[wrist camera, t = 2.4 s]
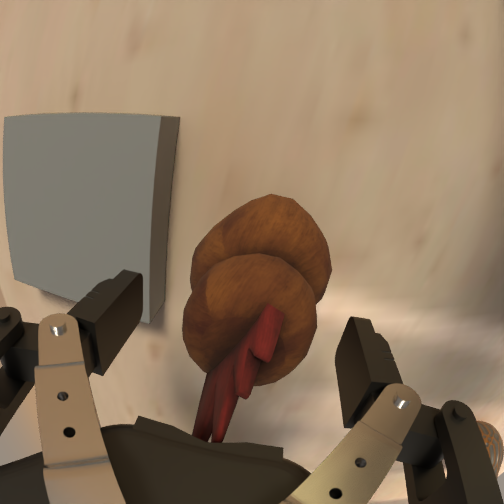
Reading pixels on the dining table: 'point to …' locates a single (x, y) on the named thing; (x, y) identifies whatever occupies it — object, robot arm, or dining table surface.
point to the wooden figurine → (252, 303)
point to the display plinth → (89, 200)
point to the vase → (492, 444)
